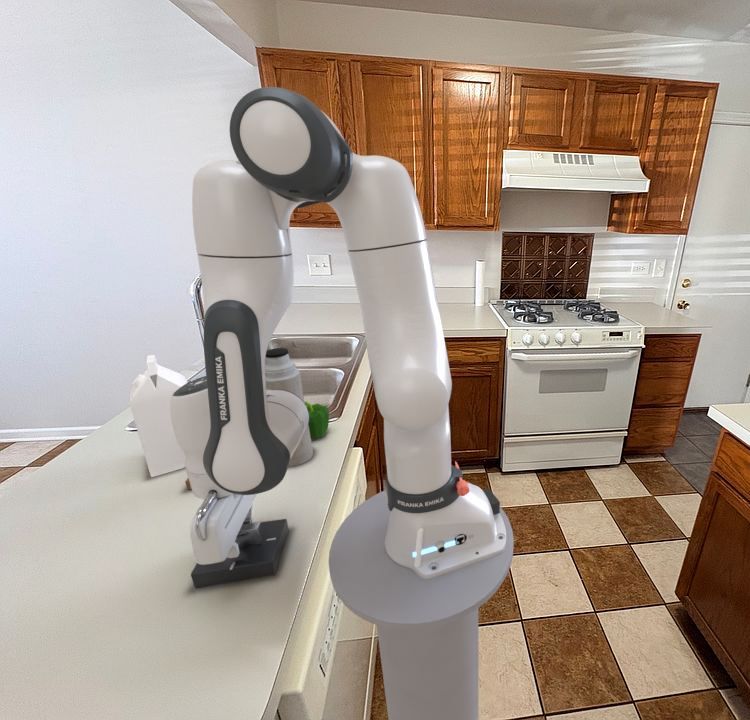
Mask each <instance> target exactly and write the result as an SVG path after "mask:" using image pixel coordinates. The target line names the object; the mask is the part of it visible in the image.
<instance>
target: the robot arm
mask: <svg viewBox="0 0 750 720" xmlns="http://www.w3.org/2000/svg"><path fill="white" fill-rule="evenodd" d="M229 139H230V143H231V147H232V149H233V152H234V154H235V156H236V159H237V160H228V159H226V160H218V161H213V162H210V163H207V164H205V165H203V166H202V167H200V168H198V170H197V171H196V173H195V174H194V176H193V178H192V193H191V200H192V201H191V204H192V205H191V208H192V209H191V211H192V213H191V214H192V227H193V236H194V237H193V238H194V242H195V243H194V244H195V249H196V254H197V256H196V257H197V261H198V268H199V273H200V281H201V286H202V287H201V289H202V296H203V299H202V300H203V354H204V355H203V356H204V366H205V375H204V376H201V377H197V378H196V379H193V380H190V381H187V383H186V384H185V385H183V386H182V387H180V388H179V389H178V390H177V391H175V392H174V394H173V395H172V396H171V400H170V413H171V419H172V424H173V428H174V432H175V436H176V439H177V442H178V445H179V446H180V448H181V449H182V450H183V452H184V454H185V471H186V475H187V479H188V478H189V482H190V485H191V488H192V489H191V491H192V494H193V496H194V497H196V498H198V499H201V500H203V501H202V503H201V505H200V506H199V507H198V509H197V510H196V512H195V514H194V515H193V517H192V519H191V522H190V525H189V526H190V527H189V533H190V540H191V546H192V550H193V555H194V559H195V562H196V564H197V563H198V564H201V565H206V564H214V563H219V562H223V561H224V560H225V559H226V558H235V557H238V556H239V553H240V551H241V549H242V548H241V544H240V542H235V540H236V537H237V535H238V533H239V530H240V528H241V526H242V524H249V523H254V518H253V508H254V507H253V506H254V501H255V499H256V496H257V495H258V494H262V493H265V492H268V491H270V490H272V489H275V488H276V487H278V485H280V483H282V481H283V480H284V479H285V476H286V474H287V471H288V468H289V467H290V466H289V463H290V459H291V458H292V456H293V454H294V452H295V450H296V448H297V446H298V444H299V442H300V440H301V438H302V436H303V434H304V432H305V430H306V428H307V426H308V423H309V411H308V408H307V407H308V406H306V404H305V403H304V402H303V401H302V400H301V399H300V398H299V397H298V396H297V395H295V394H293V393H291V392H289V391H286V390H280V389H275V390H267V389H266V379H265V364H266V360H265V358H266V357H265V356H266V351H267V350H268V347H269V344H270V342H271V340H272V337H273V335H274V333H275V331H276V329H277V327H278V325H279V323H280V321H281V320H282V318H283V317H284V315H285V313H286V312H287V310H288V309H289V307H290V305H291V303H292V300H293V293H294V281H295V268H294V259H293V250H292V249H293V248H292V241H291V232H290V231H291V230H290V223H291V222H290V221H291V217H292V214H293V212H294V210H295V209H296V208H297V209H302V208H305V207H309V206H312V205H317V204H322V203H326V204H328V205H329V206H330V207H331V208H332V209H333V211H334V212H335V214H336V215H337V217H338V220H339V223H340V226H341V229H342V232H343V236H344V237H343V238H344V241H345V245H346V249H347V254H348V257H349V262H350V266H351V271H352V276H353V278H354V283H355V287H356V291H357V295H358V299H359V304H360V310H361V316H362V322H363V323H362V324H363V332H364V338H365V345H366V350H367V351H366V352H367V358H368V363H369V368H370V375H371V379H372V386H373V390H374V396H375V401H376V404H377V407H378V411H379V413H380V414H381V416H382V417H383V443H384V444H383V445H384V454H385V466H386V474H385V481H384V490H385V491H386V500H387V504H388V508H389V520H388V528H387V532H386V536H385V541H384V544H385V549H386V552H387V554H388V555H389V557H390V558H391V559H392V560H393V561H395V562H396V563H398V564H399V565H402V566H404V567H407V568H410V569H412V570H413V571H414V572H415V573H416V574H417V575H418V576H420V577H421V578H422V579H425V580H428V579H432V578H435V577H437V576H440V575H443V574H446V573H449V572H452V571H454V570H457V569H460V568H463V567H466V566H468V565H471V564H474V563H477V562H480V561H483V560H485V559H488V558H491V557H494V556H497V555H499V554H502V553H503V552H504V550H505V547H506V541H507V538H506V529H505V525H504V522H503V519H502V517H501V515H500V507H501V501H499V499H498V498H497V496H496V495H495V494H494V492H493V491H492V490H491V489H490V488H489V487H487V488H485V489H481V487H480V486H478V485H475V484H473V483H471V482H469V481H466V480H465V479H464V474H463V470H461V469H460V466H459V464H458V462H457V461H456V460H455V461H454V464H455V465H453V464H452V445H451V440H452V439H451V438H452V437H451V424H450V409H449V403H450V400H451V395H452V390H453V381H452V380H453V379H452V375H451V370H450V369H451V368H450V363H449V358H448V352H447V346H446V340H445V336H444V330H443V324H442V318H441V312H440V307H439V302H438V296H437V290H436V285H435V279H434V271H433V267H432V266H433V265H432V261H431V255H430V249H429V242H428V236H427V231H426V225H425V222H424V217H423V213H422V210H421V206H420V203H419V199H418V196H417V193H416V190H415V186H414V184H413V182H412V179H411V176H410V174H409V172H408V170H407V168H406V167H405V166H404V165H403V164H402V163H401V162H399V161H397V160H396V159H393V158H391V157H388V156H384V155H378V154H377V155H376V154H373V155H359V154H356V153H355V152H354V151H352V148H351V146H349V143H348V142H347V140H346V139H345V137H344V136H343V134H342V132H341V131H340V129H339V128H338V126H337V125H336V124H335V122H334V121H333V120H332V119H331V118H330V116H328V115H327V114H326V113H325V112H324V111H323V110H321V109H320V107H318V106H317V105H316V104H315V103H314V102H313V101H311V100H310V99H308V97H306V96H304V95H303V94H300V93H299V92H296V91H293V90H291V89H288V88H283V87H279V86H264V87H259V88H256V89H253V90H251V91H249V92H247V93H246V94H245V95H243V96H242V97H241V98H240V99H239V100H238V102H237V103H236V105H235V106H234V108H233V110H232V113H231V116H230V121H229ZM432 569H435V570H432Z"/></svg>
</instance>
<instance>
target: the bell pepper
mask: <svg viewBox="0 0 750 720" xmlns="http://www.w3.org/2000/svg"><path fill="white" fill-rule="evenodd" d="M304 401H305V404H306V406H307V408H308V411H309V423H308V425H309V431H310V437H311V441H312V440H319V439H321V438H323V437H324V436H325V435H326V433H327V431H328V428H329V424H330V412H329V411H330V409H329V408H328V407H327V406H326V405H322V404H320V403H314V404H311V403H310V402H309V401H306V400H304Z"/></svg>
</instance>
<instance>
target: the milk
mask: <svg viewBox="0 0 750 720" xmlns="http://www.w3.org/2000/svg"><path fill="white" fill-rule="evenodd" d="M146 366H147V369H145V371H144V372H143V373H142V374H141V373H138V375H136V377H135V378H134V380H133V381H132V383H131V385H132V387H131V389H130V394H129V407H130V410H131V413H132V417H133V420H134V423H135V424H134V425H135V427H136V431H137V434H138V437H139V441H140V444H141V448H142V451H143V454H144V459H145V462H146V465H147V468H148V471H149V475H150V478H155V477H158V476H161V475H164V474H168V473H171V472H175V471H178V470H181V469H184V468H185V454H184V452H183V450H182V449H181V448H180V446H179V445H178V442H177V439H176V436H175V432H174V428H173V424H172V419H171V413H170V400H171V396H172V395H173V394H174V392H175V391H177V390H178V389H179V388H180V387H182V386H183V385H185V384H186V383H188V380H187V378H186V377H185V375H183V374H181V373H179V372H177V371H174V370H172V369H169V368H167V367H164V366H162V365H160V364H158V360H157V357H156V355H155V354H150V355H147V356H146Z"/></svg>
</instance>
